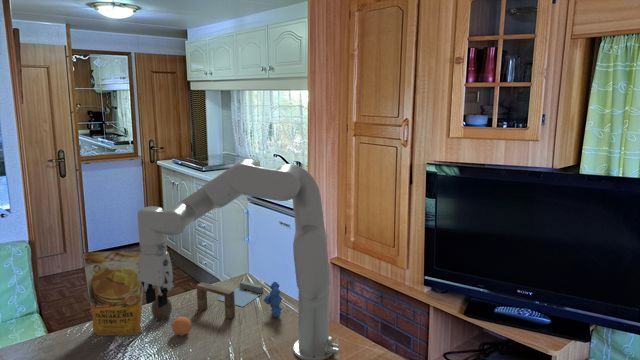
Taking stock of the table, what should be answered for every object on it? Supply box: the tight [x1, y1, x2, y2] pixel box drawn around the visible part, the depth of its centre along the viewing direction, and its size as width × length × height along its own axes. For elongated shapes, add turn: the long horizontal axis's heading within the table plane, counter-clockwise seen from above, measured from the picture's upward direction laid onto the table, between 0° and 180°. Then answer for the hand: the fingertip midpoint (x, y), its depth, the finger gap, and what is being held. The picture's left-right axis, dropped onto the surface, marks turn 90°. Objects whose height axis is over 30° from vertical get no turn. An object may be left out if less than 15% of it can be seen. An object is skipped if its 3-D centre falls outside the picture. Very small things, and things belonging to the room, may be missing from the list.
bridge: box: [196, 281, 236, 320], centre depth 165 cm, size 3×15×10 cm, turn 62°
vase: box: [150, 293, 173, 321], centre depth 162 cm, size 7×7×9 cm
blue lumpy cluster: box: [263, 281, 283, 318], centre depth 164 cm, size 12×7×12 cm, turn 12°
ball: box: [171, 316, 192, 336], centre depth 151 cm, size 6×6×6 cm
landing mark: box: [217, 287, 261, 308], centre depth 178 cm, size 12×12×1 cm
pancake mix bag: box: [82, 250, 144, 337], centre depth 150 cm, size 7×19×28 cm, turn 92°
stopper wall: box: [239, 280, 264, 294], centre depth 184 cm, size 10×2×2 cm, turn 62°
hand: (156, 303), depth 140 cm, fingers open, 4 cm apart
